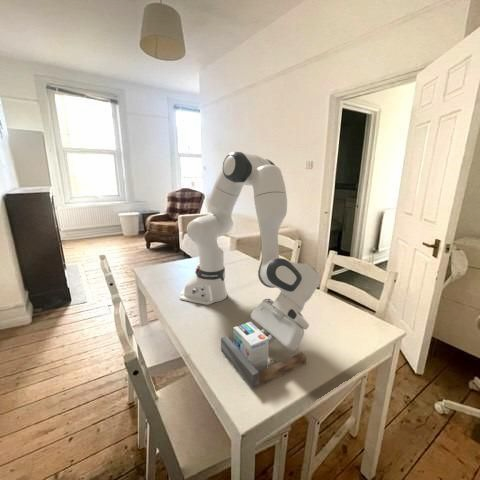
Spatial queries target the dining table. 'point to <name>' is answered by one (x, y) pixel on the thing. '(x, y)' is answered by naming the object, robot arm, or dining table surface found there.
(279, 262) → the robot arm
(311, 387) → the dining table surface
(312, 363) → the dining table surface
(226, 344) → the guide dock
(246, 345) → the light bulb box
